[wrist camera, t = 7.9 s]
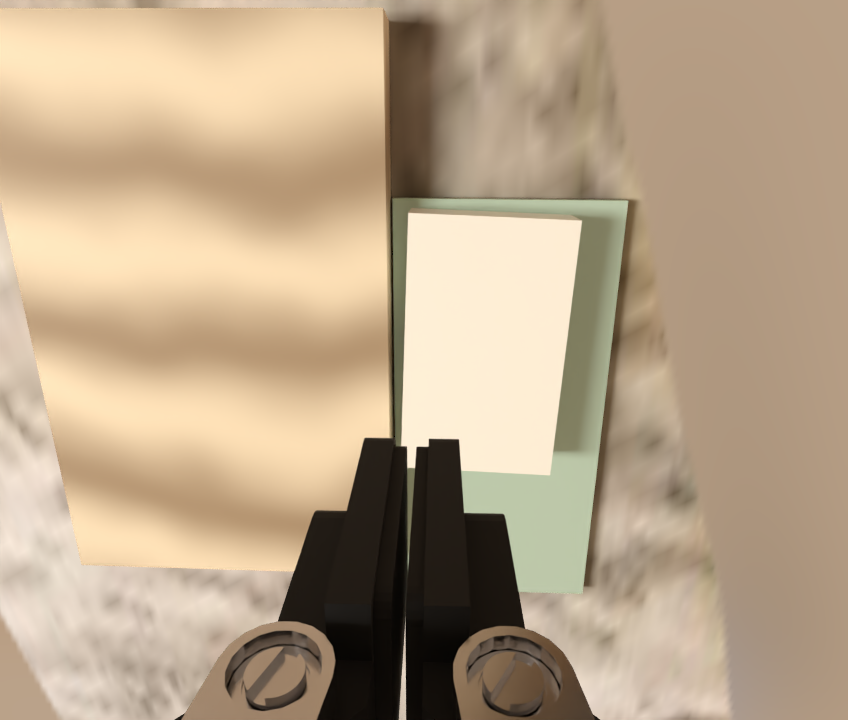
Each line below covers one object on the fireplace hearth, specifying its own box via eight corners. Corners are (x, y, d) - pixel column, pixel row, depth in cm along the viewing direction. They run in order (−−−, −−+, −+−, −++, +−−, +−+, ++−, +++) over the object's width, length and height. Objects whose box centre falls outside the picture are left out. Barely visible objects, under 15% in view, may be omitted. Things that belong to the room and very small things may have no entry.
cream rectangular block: (411, 207, 22) (408, 212, 21) (570, 214, 22) (581, 220, 20) (404, 444, 26) (400, 467, 24) (542, 451, 26) (550, 475, 24)
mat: (393, 197, 23) (392, 198, 22) (624, 199, 22) (628, 200, 22) (397, 580, 29) (396, 587, 28) (580, 586, 28) (582, 593, 28)
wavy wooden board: (0, 21, 21) (-43, 8, 19) (389, 20, 21) (383, 7, 19) (105, 537, 29) (81, 564, 27) (395, 546, 28) (391, 574, 26)
